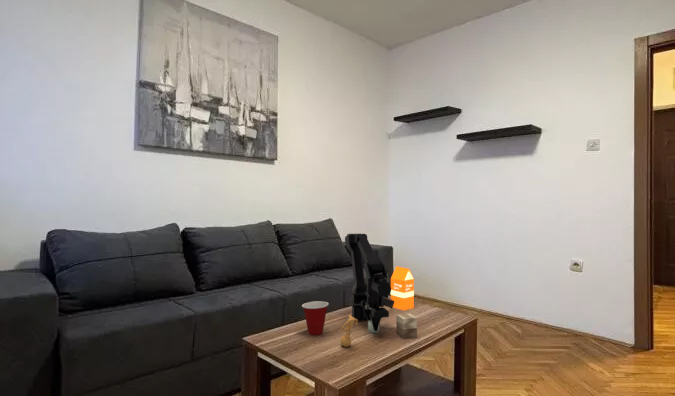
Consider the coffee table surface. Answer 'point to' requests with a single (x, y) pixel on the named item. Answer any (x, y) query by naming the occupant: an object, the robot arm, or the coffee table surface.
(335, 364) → the coffee table surface
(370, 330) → the stubby sage cylinder
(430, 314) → the coffee table surface
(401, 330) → the walnut block
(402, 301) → the orange juice
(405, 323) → the birch block
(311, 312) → the plastic cup
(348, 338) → the figurine
